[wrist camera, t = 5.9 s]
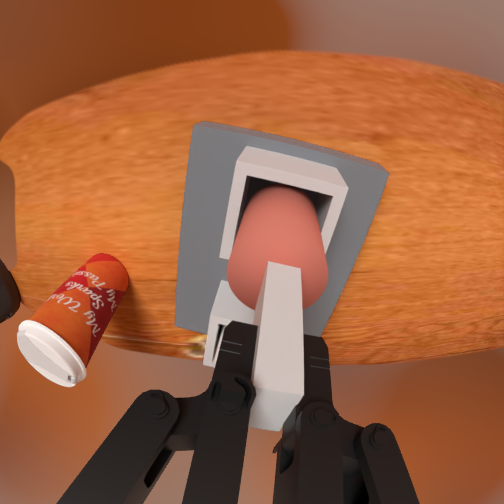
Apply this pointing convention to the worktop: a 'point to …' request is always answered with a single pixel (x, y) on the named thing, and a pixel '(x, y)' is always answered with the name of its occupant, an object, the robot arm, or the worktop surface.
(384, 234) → the worktop surface
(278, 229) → the red plug
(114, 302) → the coffee cup
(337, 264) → the board
